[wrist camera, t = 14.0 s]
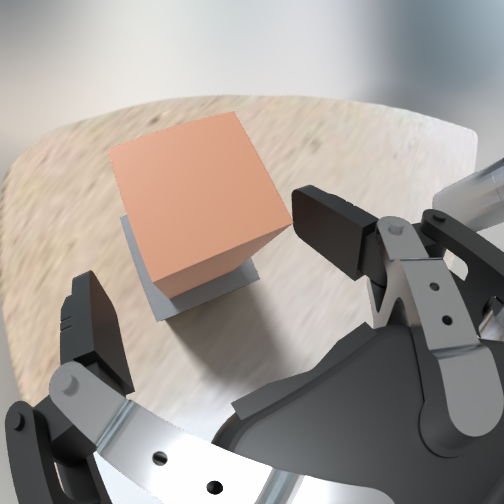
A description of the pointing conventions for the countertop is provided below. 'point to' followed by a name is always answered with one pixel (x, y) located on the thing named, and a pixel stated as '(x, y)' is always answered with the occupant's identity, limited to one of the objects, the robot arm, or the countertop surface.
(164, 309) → the tower top slab
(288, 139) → the countertop surface
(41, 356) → the countertop surface
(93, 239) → the countertop surface
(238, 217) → the pillar
